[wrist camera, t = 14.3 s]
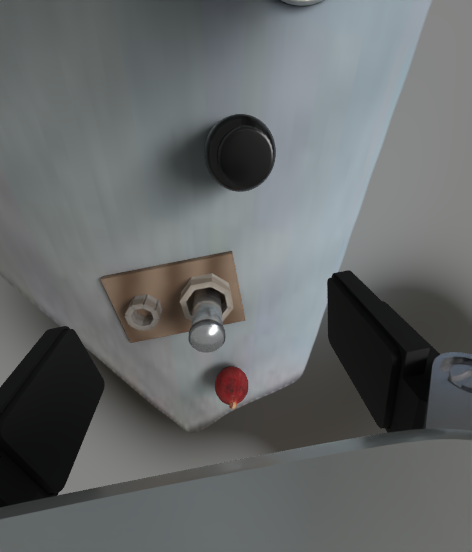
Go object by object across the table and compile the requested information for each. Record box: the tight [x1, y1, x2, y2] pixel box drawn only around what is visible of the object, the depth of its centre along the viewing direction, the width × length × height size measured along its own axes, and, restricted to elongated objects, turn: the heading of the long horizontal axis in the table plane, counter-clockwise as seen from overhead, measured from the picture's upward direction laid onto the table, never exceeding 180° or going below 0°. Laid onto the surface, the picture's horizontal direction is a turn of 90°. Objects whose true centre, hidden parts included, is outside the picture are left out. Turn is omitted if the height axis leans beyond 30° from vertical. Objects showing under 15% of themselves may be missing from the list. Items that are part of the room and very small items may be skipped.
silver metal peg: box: [189, 287, 225, 352], centre depth 37 cm, size 4×4×10 cm
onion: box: [215, 367, 248, 409], centre depth 47 cm, size 6×6×8 cm
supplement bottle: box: [205, 114, 276, 192], centre depth 28 cm, size 7×7×12 cm
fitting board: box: [101, 251, 245, 343], centre depth 41 cm, size 19×12×4 cm, turn 100°
